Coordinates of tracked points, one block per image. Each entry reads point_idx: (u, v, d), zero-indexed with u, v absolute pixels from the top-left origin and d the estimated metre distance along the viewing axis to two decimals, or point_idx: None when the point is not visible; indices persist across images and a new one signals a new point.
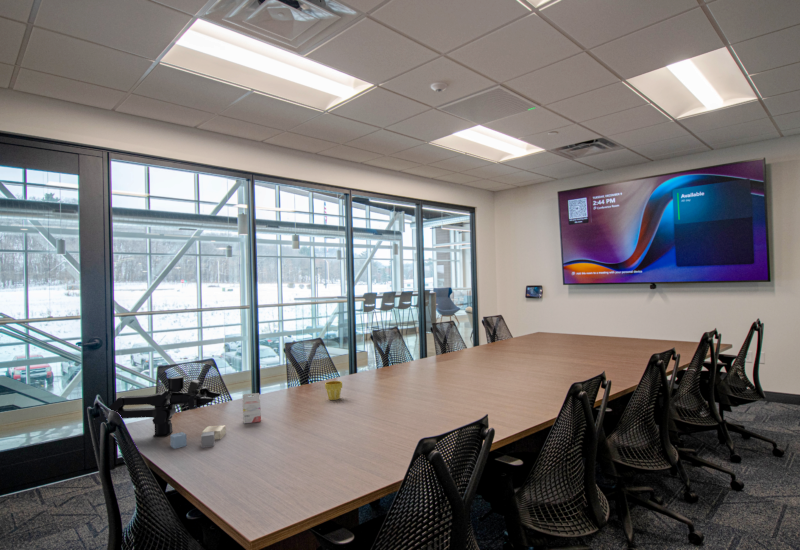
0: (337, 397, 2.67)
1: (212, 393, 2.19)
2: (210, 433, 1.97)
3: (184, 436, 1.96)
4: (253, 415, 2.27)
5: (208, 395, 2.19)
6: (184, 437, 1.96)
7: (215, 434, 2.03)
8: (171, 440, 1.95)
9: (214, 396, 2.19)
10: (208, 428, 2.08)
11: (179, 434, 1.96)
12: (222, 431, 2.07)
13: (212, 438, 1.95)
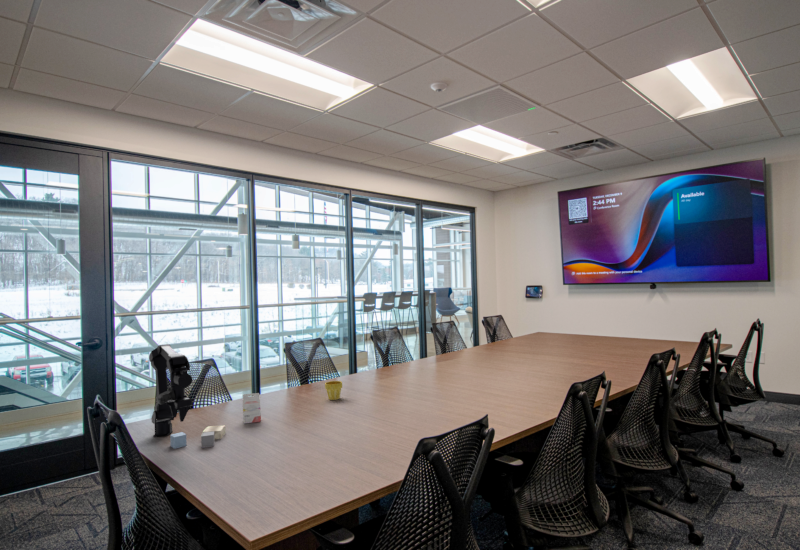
0: (337, 397, 2.67)
1: None
2: (210, 433, 1.97)
3: (184, 436, 1.96)
4: (253, 415, 2.27)
5: None
6: (184, 437, 1.96)
7: (215, 434, 2.03)
8: (171, 440, 1.95)
9: None
10: (208, 428, 2.08)
11: (179, 434, 1.96)
12: (222, 431, 2.07)
13: (212, 438, 1.95)
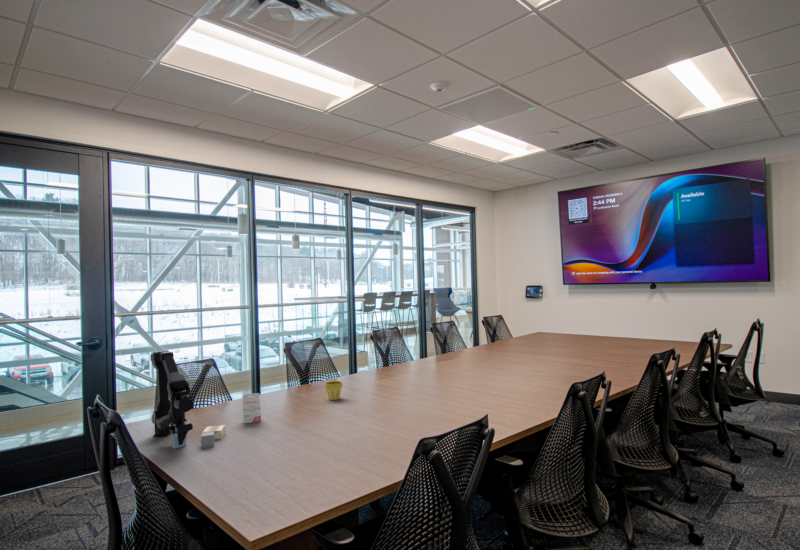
0: (337, 397, 2.67)
1: None
2: (210, 433, 1.97)
3: None
4: (253, 415, 2.27)
5: None
6: None
7: (216, 434, 2.04)
8: (171, 440, 1.95)
9: None
10: (208, 428, 2.07)
11: None
12: (222, 431, 2.07)
13: (212, 438, 1.95)
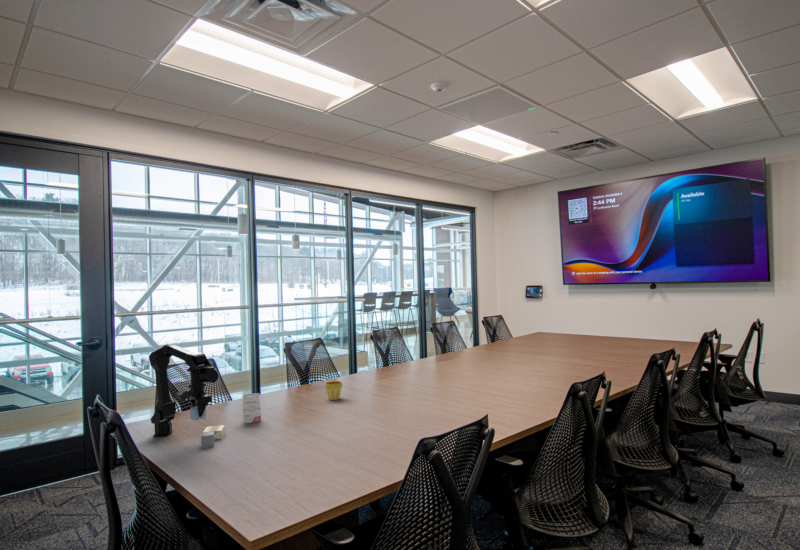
0: (337, 397, 2.67)
1: None
2: (210, 433, 1.97)
3: None
4: (253, 415, 2.27)
5: None
6: None
7: (216, 434, 2.04)
8: (191, 412, 2.01)
9: None
10: (208, 428, 2.07)
11: None
12: (222, 431, 2.07)
13: (212, 438, 1.95)
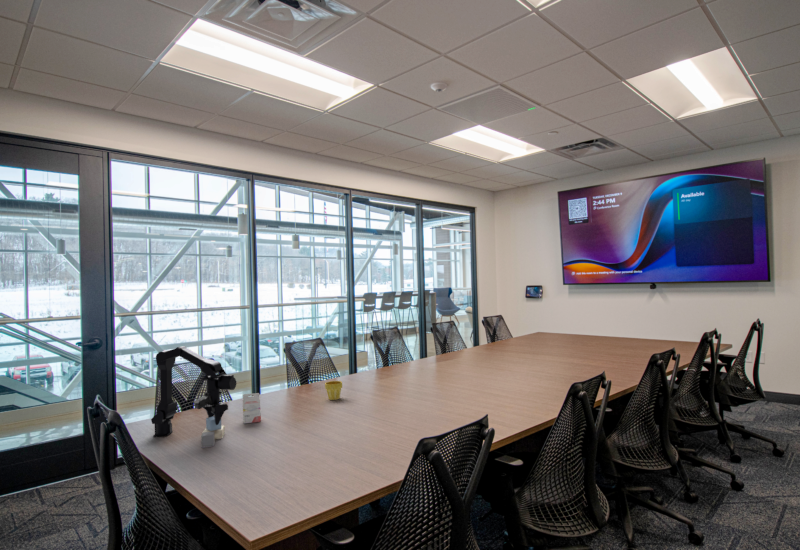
0: (337, 397, 2.67)
1: None
2: (210, 433, 1.97)
3: None
4: (253, 415, 2.27)
5: None
6: None
7: (216, 434, 2.04)
8: (207, 423, 2.06)
9: None
10: None
11: None
12: (222, 431, 2.07)
13: (212, 438, 1.95)
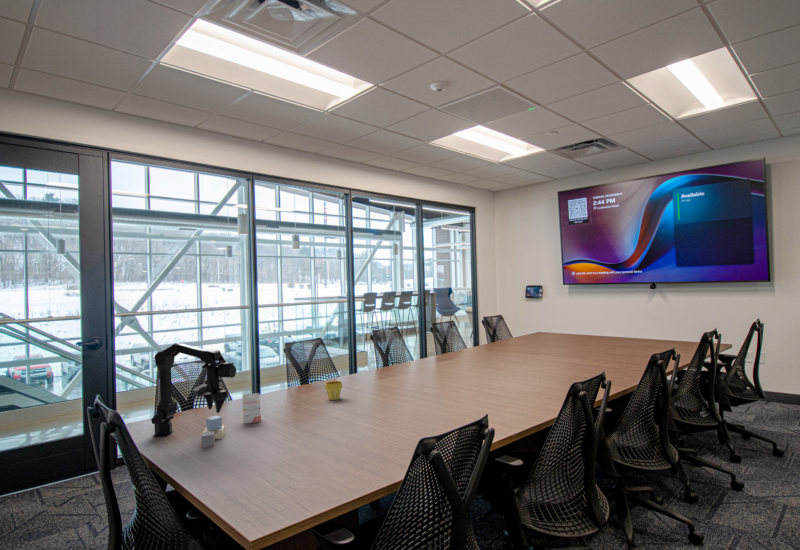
0: (337, 397, 2.67)
1: None
2: (210, 433, 1.97)
3: (220, 419, 2.07)
4: (253, 415, 2.27)
5: None
6: (220, 420, 2.07)
7: (217, 434, 2.04)
8: (207, 423, 2.07)
9: None
10: None
11: (215, 417, 2.08)
12: (223, 431, 2.07)
13: (212, 438, 1.95)
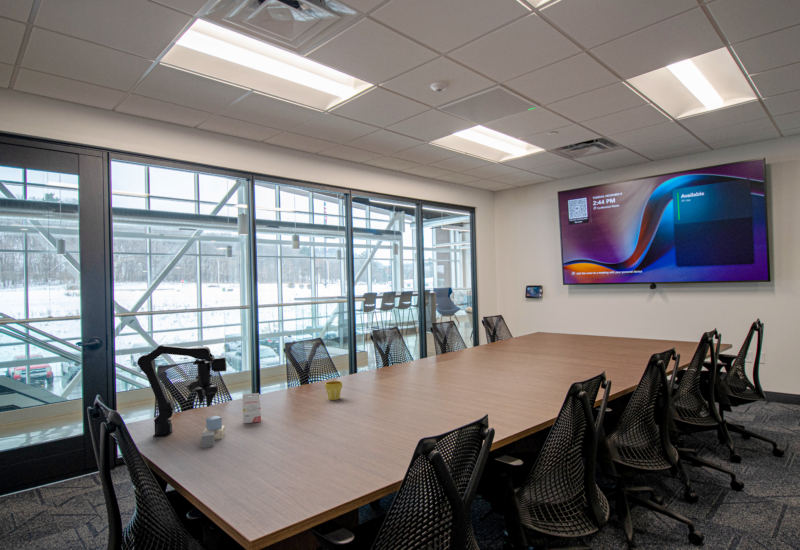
0: (337, 397, 2.67)
1: None
2: (210, 433, 1.97)
3: (220, 419, 2.07)
4: (253, 415, 2.27)
5: None
6: (220, 420, 2.07)
7: (216, 434, 2.04)
8: (207, 423, 2.06)
9: None
10: None
11: (215, 417, 2.08)
12: (222, 431, 2.07)
13: (212, 438, 1.95)
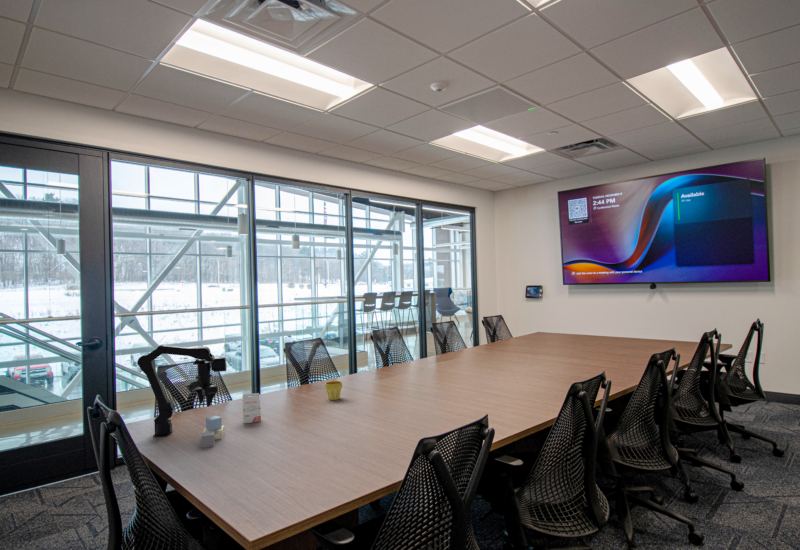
0: (337, 397, 2.67)
1: None
2: (210, 433, 1.97)
3: (219, 419, 2.07)
4: (253, 415, 2.27)
5: None
6: (219, 420, 2.07)
7: (216, 434, 2.04)
8: (207, 423, 2.06)
9: None
10: None
11: (214, 417, 2.07)
12: (222, 431, 2.07)
13: (212, 438, 1.95)
